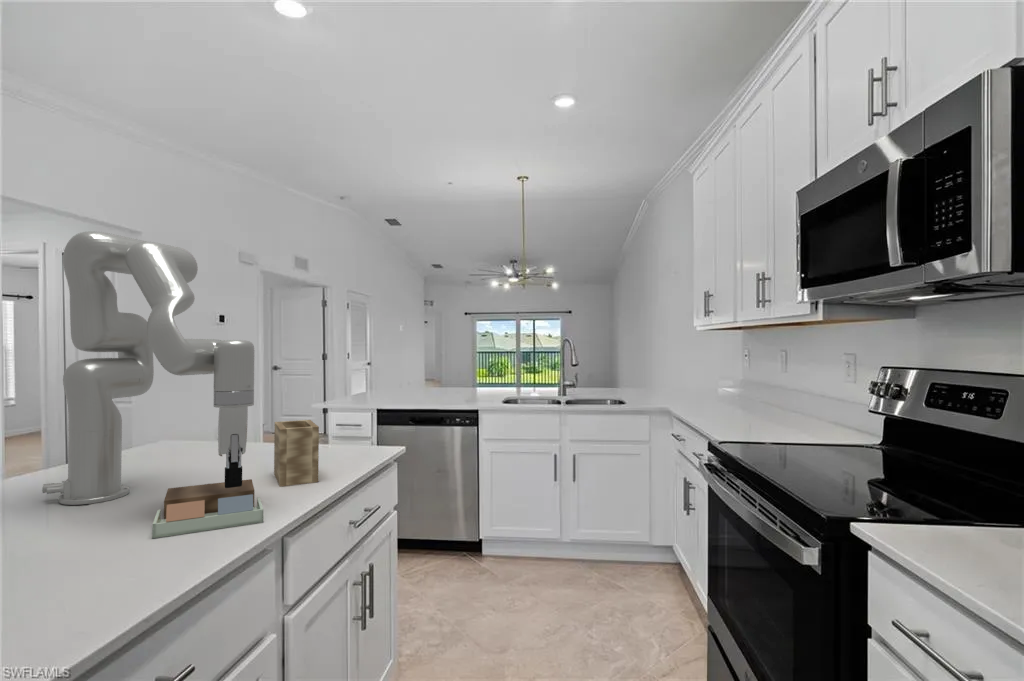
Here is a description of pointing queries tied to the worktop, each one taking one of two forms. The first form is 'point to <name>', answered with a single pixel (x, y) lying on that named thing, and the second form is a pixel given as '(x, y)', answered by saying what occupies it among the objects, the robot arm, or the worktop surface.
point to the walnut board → (206, 494)
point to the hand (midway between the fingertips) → (233, 486)
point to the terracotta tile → (185, 510)
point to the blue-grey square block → (235, 504)
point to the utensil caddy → (296, 452)
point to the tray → (206, 522)
